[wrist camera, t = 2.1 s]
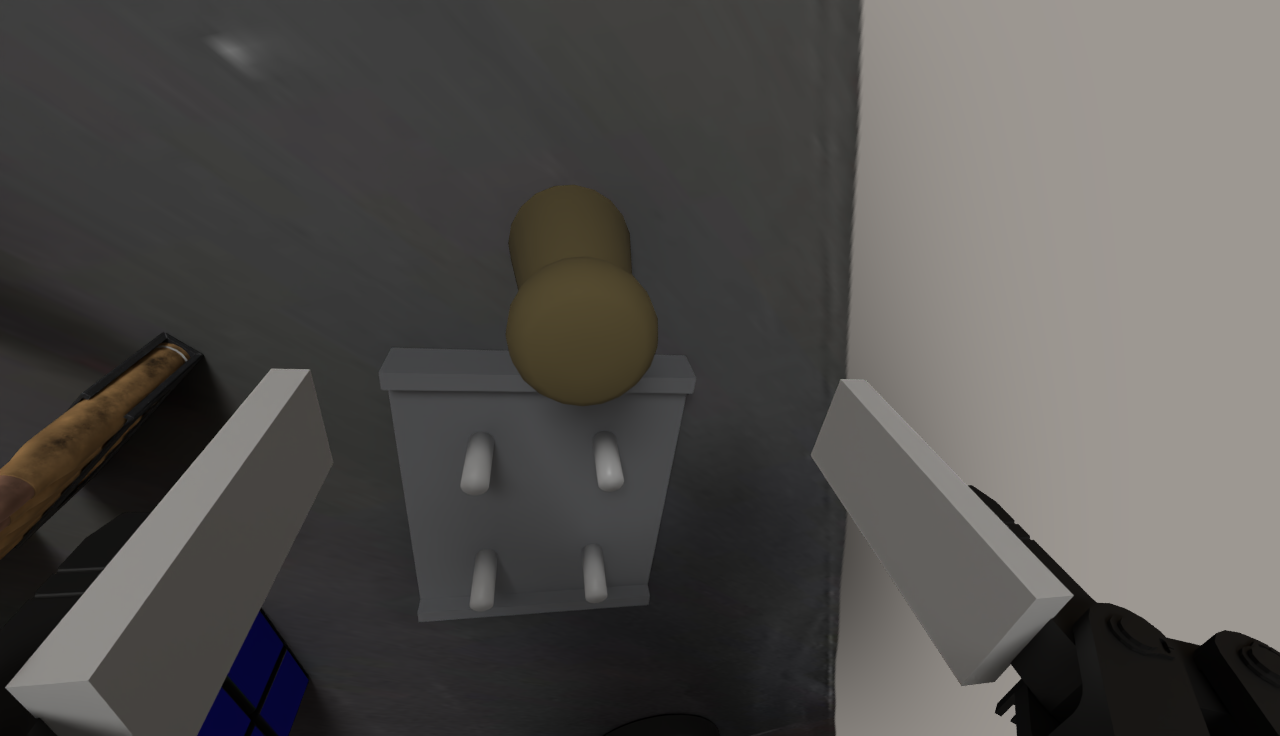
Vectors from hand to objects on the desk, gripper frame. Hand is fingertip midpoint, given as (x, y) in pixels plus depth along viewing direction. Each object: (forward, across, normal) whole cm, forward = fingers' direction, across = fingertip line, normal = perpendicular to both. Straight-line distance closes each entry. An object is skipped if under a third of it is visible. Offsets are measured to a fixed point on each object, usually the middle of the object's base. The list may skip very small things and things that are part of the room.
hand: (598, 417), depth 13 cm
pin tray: (+14, +1, +16) cm, 22 cm away
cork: (+15, 0, 0) cm, 15 cm away
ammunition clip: (+15, +22, +10) cm, 28 cm away
